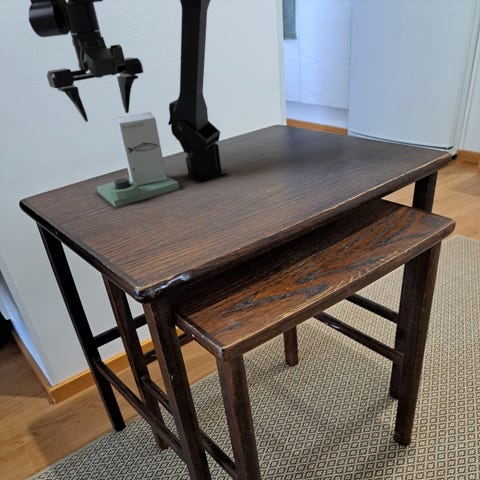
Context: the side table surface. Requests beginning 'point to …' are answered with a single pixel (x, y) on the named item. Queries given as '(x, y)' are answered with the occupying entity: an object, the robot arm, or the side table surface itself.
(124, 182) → the button
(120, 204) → the scale
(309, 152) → the side table surface
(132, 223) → the side table surface
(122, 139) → the white packaging box
